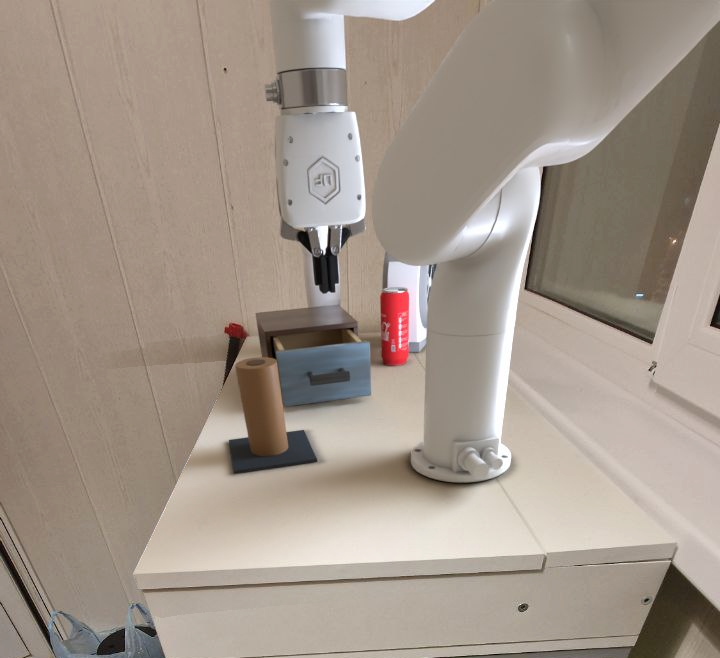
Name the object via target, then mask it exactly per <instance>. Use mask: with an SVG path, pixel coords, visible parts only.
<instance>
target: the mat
mask: <svg viewBox="0 0 720 658" xmlns="http://www.w3.org/2000/svg"><path fill="white" fill-rule="evenodd" d="M286 433H287V440H288V449H287V450H286V451H285V452H283V453H281V454H278V455H274V456H258V455H255V454H253V453H252V452H251V449H250V444H249V438H248V436H247V437H241V438H240V437H239V438H233V439H228V445H229V452H230V457H231V464H232V470H233V474H241V473H248V472H255V471H256V472H257V471H262V470H269V469H275V468H283V467H291V466H296V465H297V466H298V465H304V464H310V463H317V462H318V458H317V456H316V453H315V452H314V449H313V447H312V444H311V442H310V440H309V438H308V435H307V433H306V431H305V429H300V430H292V431H286Z"/></svg>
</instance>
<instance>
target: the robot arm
mask: <svg viewBox="0 0 720 658" xmlns="http://www.w3.org/2000/svg"><path fill="white" fill-rule="evenodd" d="M435 1H436V0H268V3H269V13H270V21H271V33H272V43H273V51H274V53H273V54H274V62H275V72H276V76H275V79H274V80H273V81H272V82H271V83H269V84H267V83H266V84H264V96H265V101H266V102H273V103H272V104H274V103H275V104H276V105H277V106H278V110H280V112H279V113H280V115H276V116H274V117H275V119H274V167H275V181H276V195H277V206H278V213H279V216H280V222H279V236H280V237H281V238H282V239H284V240H288V241H293V242H298V243H300V244H301V246H302V245H303V246H304V247H305V248H306V249H307V250H308V251H309V252H310V253H311V254H312V260H313V271H314V282H315V285H316V286H319V290H320V291H321V292H322V293H323V294H326V293H327V292H331V293H335V284H339V273H338V261H339V256H337V255H340V253H341V250H342V249H343V247H344V246H345V244H346V243H347V241H348V240H349V239H350V238H353V237H356V236H357V235H358V236H359V235H360V234H363V233H364V232H365V231H366V229H367V225H366V222H365V215H366V187H365V177H364V176H365V175H364V165H363V155H362V145H361V139H360V138H361V137H360V131H359V124H358V120H357V114H356V112H355V111H349V106H348V103H349V102H348V85H347V84H348V83H347V81H348V80H347V62H346V61H347V59H346V39H345V37H346V36H345V35H346V34H345V17H344V16H347V17H357V18H370V19H379V20H386V21H398V22H399V21H404V20H407V19H410V18H413V17H415V16H417V15H419V14H420V13H422V12H423V11H424V10H425V9H427V8H428V7H429V6H430V5H431V4H433V3H434V2H435ZM719 22H720V0H491V1H490V2H488V3H486V5H485V6H484V7H483V8H482V9H481V10H479V11H478V12H477V13H476V14H475V15H474V17H473V18H472V19H471V20H470V21H469V22H468V23H467V25H466V26H465V27H464V28H463V30H462V31H461V33H460V35H458V38H457V39H456V40H455V42H454V43H453V45H452V46H451V48H450V49H449V50H448V52H447V54H446V55H445V57H444V59H442V61H441V63H440V65H439V66H438V67H437V69H436V71H435V72H434V74H433V75H432V77H431V78H430V80H429V81H428V83H427V84H426V86H425V88H424V89H423V91H422V93H421V94H420V96H419V97H418V99H417V100H416V102H415V104H414V105H413V106H412V108H411V110H410V111H409V113H408V114H407V116H406V117H405V119H404V120H403V122H402V124H401V125H400V127H399V129H398V130H397V132H396V133H395V135H394V136H393V138H392V140H391V141H390V143H389V145H388V147H387V149H386V150H385V152H384V154H383V156H382V159H381V161H380V163H379V166H378V168H377V171H376V175H375V179H374V183H373V188H372V195H371V217H372V223H373V228H374V232H375V236H376V238H377V240H378V242H379V244H380V245H381V247H382V248H383V249H384V251H385V252H387V253H388V254H389V255H390V256H391V257H393V258H394V259H396V260H397V261H399V262H401V263H404V264H407V265H411V266H426V265H433V264H437V263H438V264H437V267H436V270H435V273H434V277H433V280H432V284H431V288H430V293H429V300H428V308H427V332H426V345H425V364H424V365H425V367H424V369H425V371H424V372H425V374H424V405H423V408H424V409H423V441H421V442H420V443H418V444H417V445H416V446H415V447H413V448H412V450H411V452H410V464H411V466H412V468H413V469H414V470H415V471H416V472H417V473H419V474H420V475H421V476H424V477H427V478H429V479H432V480H437V481H442V482H448V483H477V482H482V481H487V480H490V479H494V478H496V477H498V476H500V475H502V474H503V473H505V472H507V470H508V469H509V468H510V466H511V462H512V461H511V459H512V453H511V451H510V450H509V448H508V447H507V446H506V445H504V444H503V443H501V438H502V430H503V422H504V415H505V414H504V413H505V405H506V398H507V390H508V381H509V372H510V365H511V355H512V348H513V341H514V340H513V339H514V333H515V332H514V331H515V325H516V318H517V309H518V301H519V295H520V289H521V282H522V277H523V276H522V275H523V272H524V267H525V266H524V265H525V262H526V258H527V253H528V249H529V247H530V243H531V239H532V236H533V231H534V229H535V228H534V227H535V223H536V220H537V215H538V211H539V205H540V198H541V187H542V185H541V172H540V168H541V167H550V166H551V167H552V166H557V165H563V164H569V163H571V162H575V161H576V160H578V159H580V158H582V157H585V156H586V155H587V154H589V153H591V151H593V150H594V149H595V148H596V147H597V146H598V145H599V144H600V143H602V141H604V139H605V138H606V137H607V136H608V135H610V133H611V132H612V131H613V130H615V128H616V127H617V126H618V125H619V124H620V123H621V122H622V121H623V120H624V118H626V117H627V115H629V113H630V112H632V110H633V109H635V108H636V107H637V106H638V105H639V104H640V103H641V101H642V100H644V98H645V97H646V96H647V95H648V94H649V93H651V92H652V90H654V88H656V86H657V85H658V84H660V82H662V80H663V79H664V78H666V77H667V76H668V74H669V73H670V72H671V71H672V70H673V69H674V68H676V67H677V65H679V64H680V62H681V61H682V60H683V59H684V58H685V57H686V56H688V55H689V53H690V52H691V51H692V50H693V49H694V48H695V47H696V46H697V45H698V43H700V41H701V40H703V38H704V37H705V36H706V35H707V34H708V33H709V32H710V31H711V30H712V29H713V28H714V27H715V26H716V25H717V24H718V23H719ZM318 226H328V233H327V247H326V249H325V250H326V253H325V255H324V254H323V250H322V249H321V245H320V240H319V235H318V230H317V227H318ZM300 228H302V229H300Z"/></svg>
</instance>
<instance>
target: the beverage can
mask: <svg viewBox="0 0 720 658" xmlns="http://www.w3.org/2000/svg"><path fill="white" fill-rule="evenodd" d="M379 300H380V302H379V303H380V307H379V308H380V347H381V359H382V361H383V364H384V365H386V366H391V367H392V366H393V367H394V366H395V367H396V366H402V365H405V364H407V361H408V358H409V356H410V355H409V353H410V352H409V293H408V289H407V288H403V287H392V288H385V289H381V293H380V296H379Z"/></svg>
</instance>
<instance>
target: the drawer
mask: <svg viewBox="0 0 720 658" xmlns="http://www.w3.org/2000/svg"><path fill="white" fill-rule="evenodd" d="M358 337H359V336H358ZM358 337H357V336H356V335H355V334H354V333H353V332H352V331H351V330H350V329H349V328H344V329H335V330H326V331H316V332H307V333H298V334H289V335H280V336H271V341H272V349H273V356H274V359H275V360H276V361H277V366H278V374H279V381H280V389H281V396H282V403H283V408H284V407H293V406H301V405H307V404H316V403H325V402H330V401H331V402H332V401H339V400H346V399H354V398H355V399H356V398H362V397H369V396H370V397H371V396H372V376H371V374H372V373H371V345H370V342H369V341H368V340H363V341H362V339H360V338H358Z"/></svg>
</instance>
